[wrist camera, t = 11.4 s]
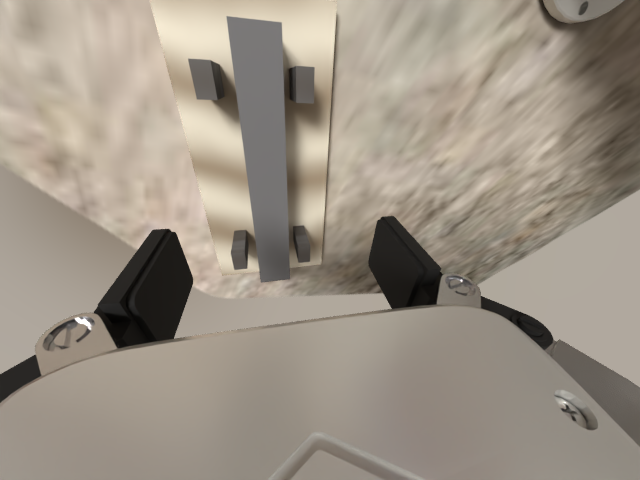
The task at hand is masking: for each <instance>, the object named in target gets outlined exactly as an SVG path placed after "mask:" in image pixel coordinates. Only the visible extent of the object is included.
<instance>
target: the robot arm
mask: <svg viewBox="0 0 640 480" xmlns="http://www.w3.org/2000/svg"><path fill="white" fill-rule="evenodd" d="M623 1H625V0H543V2H544V5H545V7H546V9H547V10H548V12H549V13H550V15H551V16H552V17H554V18H555V19H557V20H558V21H560V22H564V23H578V22H584V21H588V20H592V19H596V18H598V17H600V16H602V15H604V14H606V13H608V12H609V11H611V10H612V9H614V8H615V7H617V6H618V5H620V4H621V3H622V2H623ZM369 267H370V269H371V271H372V273H373V275H374V277H375V278H376V280H377V282H378V284H379V286H380V288H381V290H382V291H383V293H384V295H385V297H386V299H387V301H388V303H389V304H390V306H391V308H392V309H388V310H381V311H374V312H373V311H372V312H365V313H357V314H350V315H342V316H334V317H327V318H319V319H311V320H305V321H297V322H290V323H282V324H275V325H267V326H260V327H253V328H246V329H238V330H231V331H224V332H217V333H210V334H203V335H196V336H190V337H183V338H177V339H174V336H175V333H176V330H177V327H178V325H179V322H180V319H181V316H182V313H183V310H184V308H185V305H186V302H187V299H188V296H189V293H190V291H191V288H192V285H193V277H192V274H191V271H190V269H189V266H188V263H187V261H186V258H185V255H184V253H183V250H182V248H181V245H180V242H179V240H178V237H177V234H176V233H175V232H171V230H170V229H158V230H152V231H151V233H150V234H149V236H148V237H147V238H146V240H145V241H144V242H143V244H142V245H141V246H140V248H139V249H138V251H137V252H136V253H135V255H134V256H133V257H132V259H131V260H130V261H129V263H128V264H127V266H126V267H125V268H124V270H123V271H122V272H121V274H120V275H119V276H118V278H117V279H116V281H115V282H114V283H113V285H112V286H111V287H110V289H109V290H108V291H107V293H106V294H105V296H104V297H103V298H102V300H101V301H100V302H99V304H98V307H97V309H96V310H95V311H94V313H81V314H78V315H74V316H71V317H69V318H66V319H64V320H62V321H60V322H58V323H57V324H55V325H54V326H53V327H51V328H50V329H48V330H47V331H46V332H45V333H44V334H43V335H42V336H41V337H40V338H39V340H38V341H37V343H36V345H35V353H36V355H34V356H32V357H30V358H29V359H27V360H25V361H23V362H21V363H20V364H18V365H16V366H14V367H13V368H11V369H9V370H7V371H5V372H4V373H2V374H0V480H640V387H638V386H637V385H635V384H634V383H632V382H631V381H629V380H628V379H626V378H624V377H623V376H621V375H619V374H618V373H616V372H614V371H612V370H611V369H609V368H607V367H606V366H604V365H602V364H601V363H599V362H597V361H596V360H594V359H592V358H590V357H589V356H587V355H585V354H584V353H582V352H580V351H578V350H577V349H575V348H573V347H572V346H570V345H568V344H567V343H565V342H563V341H561V340H558V341H557V342H556V341H554V340H553V337H552V335H551V333H550V331H549V330H548V329H547V328H546V327H545V326H544V325H543V324H542V323H540V322H539V321H538V320H536V319H534V318H533V317H530V316H528V315H526V314H524V313H521V312H519V311H517V310H514V309H512V308H509V307H507V306H504V305H502V304H499V303H497V302H494V301H492V300H490V299H487V298H485V297H482V296H481V292H480V289H479V287H478V286H477V284H476V283H475V282H473V281H472V280H471V279H469V278H468V277H466V276H463V275H461V274H457V273H446V274H444V275H443V274H442V273H441V272H440V270H441V268H440V267H439V266H438V264H437V263H436V262H435V261H434V260H433V259H432V258H431V257H430V256H429V255H428V253H427V252H426V251H425V250H424V249H423V248H422V247H421V246H420V245H419V243H418V242H417V241H416V240H415V239H414V238H413V237H412V236H411V235H410V234H409V232H408V231H407V230H406V229H405V228H404V227H403V226H402V225H401V224H400V223H399V221H398V220H397V219H396V218H395V217H394V216H388V217H381V219H380V220H378V221H377V225H376V229H375V234H374V238H373V243H372V247H371V252H370V256H369Z"/></svg>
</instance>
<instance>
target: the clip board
mask: <svg viewBox="0 0 640 480" xmlns="http://www.w3.org/2000/svg"><path fill="white" fill-rule="evenodd" d="M150 4H151V8H152V12H153V15H154V19H155V23H156V27H157V31H158V34H159V38H160V42H161V46H162V49H163V53H164V57H165V61H166V65H167V68H168V72H169V76H170V80H171V84H172V87H173V91H174V95H175V99H176V102H177V106H178V110H179V114H180V118H181V121H182V125H183V129H184V133H185V137H186V140H187V144H188V148H189V152H190V156H191V159H192V163H193V167H194V171H195V174H196V178H197V182H198V186H199V190H200V193H201V197H202V201H203V205H204V209H205V212H206V216H207V220H208V224H209V227H210V231H211V235H212V239H213V243H214V246H215V250H216V254H217V258H218V262H219V265H220V269H221V273H222V276H224V275H233V274H241V273H250V272H259V264H258V256H257V248H256V241H255V233H254V225H253V218H252V210H251V202H250V194H249V187H248V179H247V171H246V164H245V156H244V148H243V141H242V133H241V125H240V118H239V110H238V102H237V94H236V87H235V79H234V71H233V64H232V56H231V48H230V41H229V33H228V25H227V18H226V16H230V17H239V18H248V19H256V20H265V21H274V22H282V43H283V74H284V105H285V136H286V168H287V199H288V230H289V261H290V268H294V267H303V266H312V265H320V264H321V263H322V246H323V229H324V212H325V195H326V178H327V161H328V144H329V127H330V110H331V94H332V77H333V60H334V43H335V26H336V9H337V1H333V0H150Z"/></svg>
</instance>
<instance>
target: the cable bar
mask: <svg viewBox="0 0 640 480" xmlns="http://www.w3.org/2000/svg"><path fill="white" fill-rule="evenodd" d="M226 18H227V25H228V33H229V41H230V48H231V56H232V64H233V71H234V79H235V87H236V94H237V102H238V110H239V118H240V125H241V133H242V141H243V148H244V156H245V164H246V171H247V179H248V187H249V194H250V202H251V210H252V218H253V225H254V233H255V241H256V248H257V256H258V264H259V271H260V279H261V282H269V281H277V280H286V279H290V261H289V230H288V199H287V168H286V136H285V105H284V74H283V43H282V22H274V21H265V20H256V19H248V18H239V17H230V16H226Z"/></svg>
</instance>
